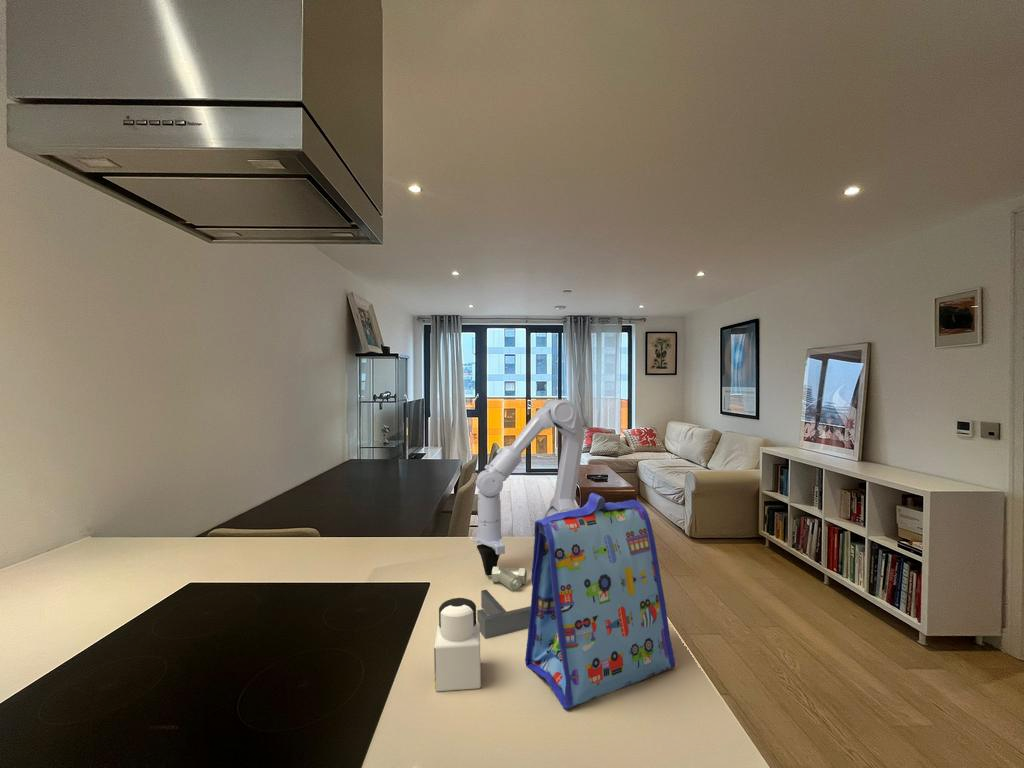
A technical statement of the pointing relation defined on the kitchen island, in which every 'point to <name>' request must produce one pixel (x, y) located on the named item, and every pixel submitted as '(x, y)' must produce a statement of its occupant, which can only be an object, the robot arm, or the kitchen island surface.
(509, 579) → the pipe fitting
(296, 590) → the kitchen island surface
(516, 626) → the grey angle bracket
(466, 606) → the medicine bottle
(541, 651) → the lunch bag
